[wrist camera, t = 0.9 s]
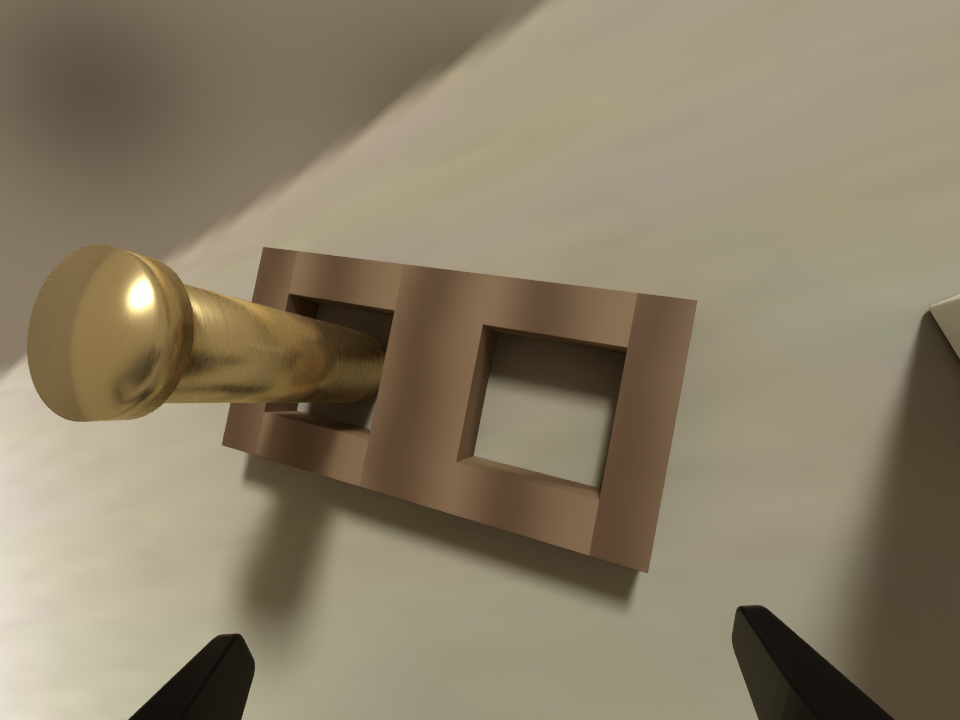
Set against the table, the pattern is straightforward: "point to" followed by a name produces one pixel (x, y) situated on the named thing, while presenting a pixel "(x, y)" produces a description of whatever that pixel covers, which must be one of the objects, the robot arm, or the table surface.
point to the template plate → (480, 397)
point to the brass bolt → (179, 344)
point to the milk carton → (949, 320)
